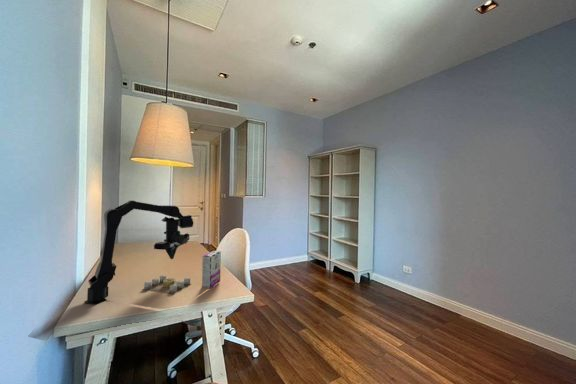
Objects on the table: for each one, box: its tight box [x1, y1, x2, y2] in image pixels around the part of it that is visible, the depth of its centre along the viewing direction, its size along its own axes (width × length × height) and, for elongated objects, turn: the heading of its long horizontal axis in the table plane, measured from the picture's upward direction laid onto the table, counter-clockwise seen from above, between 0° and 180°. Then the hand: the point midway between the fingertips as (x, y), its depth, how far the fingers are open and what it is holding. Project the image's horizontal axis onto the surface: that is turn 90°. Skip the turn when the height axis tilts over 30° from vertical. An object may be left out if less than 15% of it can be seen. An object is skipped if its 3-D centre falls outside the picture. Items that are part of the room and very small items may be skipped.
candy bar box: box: [201, 250, 222, 289], centre depth 123 cm, size 11×5×16 cm, turn 170°
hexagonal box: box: [163, 277, 176, 288], centre depth 117 cm, size 5×6×3 cm
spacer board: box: [141, 274, 192, 295], centre depth 113 cm, size 20×18×4 cm
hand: (171, 258), depth 123 cm, fingers closed
